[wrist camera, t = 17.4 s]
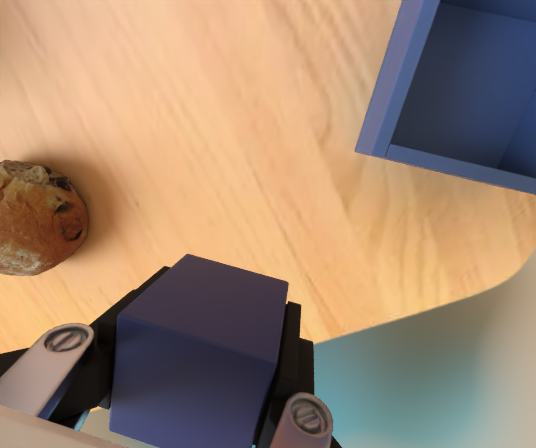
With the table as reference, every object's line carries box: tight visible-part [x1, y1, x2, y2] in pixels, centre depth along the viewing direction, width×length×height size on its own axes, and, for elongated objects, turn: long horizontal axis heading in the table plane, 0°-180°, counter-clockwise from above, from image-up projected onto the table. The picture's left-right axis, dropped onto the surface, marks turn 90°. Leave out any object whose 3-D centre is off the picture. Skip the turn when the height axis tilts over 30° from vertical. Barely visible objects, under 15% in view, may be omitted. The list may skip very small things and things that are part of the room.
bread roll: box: [0, 160, 88, 276], centre depth 24 cm, size 10×10×8 cm
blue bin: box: [355, 0, 536, 195], centre depth 16 cm, size 11×11×6 cm
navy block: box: [109, 254, 289, 448], centre depth 10 cm, size 4×4×4 cm
